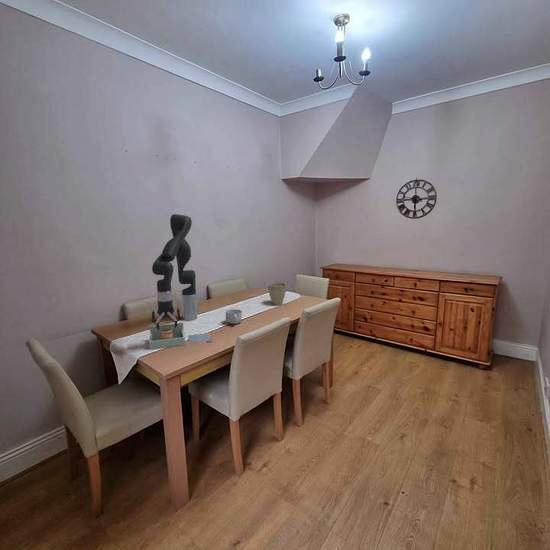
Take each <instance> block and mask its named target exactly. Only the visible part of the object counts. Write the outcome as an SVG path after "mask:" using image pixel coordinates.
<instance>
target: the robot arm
mask: <svg viewBox="0 0 550 550" xmlns="http://www.w3.org/2000/svg"><path fill="white" fill-rule="evenodd" d="M192 221H193V220H192V218H191V217H190V216H188V215H183V214H177V213H176V214H172V215H171V216H170V219H169V225H170V229H171V234H172V238H171V239H170V240H168V241H167V242H166V243H165V245H164V247H163V249H162V252H161V254H160V255H159V256H157V258H156V260H154V262H153V264H152V266H151V270H152V273H153V274H154V275H156V276H163V279H158V280H157V281H156V291H157V292H156V293H157V294H156V297H157V298H156V300H157V310H153V309H152V310H151V322H152V323H155V325H156V328H157V329H158V330H159V325H160V322H161V321H160V320H161V319H166V318H167V319H168V318H169V319H170V318H171V319H172V320H173V323H174V325H175V328H176V326H177V323H178V321H180V320H181V314H180V308H179V307H177V308H174V302H173V301H174V300H173V292H172V278H173V275H174V265H173V264H172V263H171V262H173V261H175V258H176V263H177V274H178V275H177V276H178V282H179V284H181V285H189V286H188V287H185V288H183V289H182V290H181V300H182V301H181V303H182V316H183V317H182V319H183V320H184V321H193V320H196V319H198V303H197V289H196V287H197V286H196V282H197V281H196V280H197V279H196V278H197V277H196V272H195V270H192V269H190V270H189V269H188V270H184V269H185V267H186V265H187V264H188V263H189V262H190V259H192V258H191V257H192V249H191V246H190V244H189V243H188V241H187V240H186V239H185V238H186V237H187V235H188V234H189V232H190V231H191V227H192V223H193V222H192ZM174 312H175V314H176V315H177V317H176V316H175V315H174ZM157 314H158V316H157V318H156V319H155V317H156V315H157Z"/></svg>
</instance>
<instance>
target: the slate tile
mask: <svg viewBox="0 0 550 550" xmlns="http://www.w3.org/2000/svg"><path fill="white" fill-rule="evenodd" d="M187 339H188V343H189V344H196V343H197V344H198V343H203V342H206V343H207V344H208V343H213V341H212V337H211V335H210V333H209V332H205V333H198V334H197V333H196V334H189V335H187Z"/></svg>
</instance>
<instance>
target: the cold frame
mask: <svg viewBox="0 0 550 550" xmlns="http://www.w3.org/2000/svg"><path fill="white" fill-rule="evenodd" d="M164 328H172V329H173V332H172V333H173V339H165V340H162V333H161V330H162V329H164ZM185 338H186V337H185V332H184V322H177V326H176V328H175V325H174V322H173V323H165V324H159V330H158V329H157V328H156V324H155V325H149V338H148V339H149V340H148V344H149V350H157V349H164V348H171V347H178V346H184V345H186V339H185Z"/></svg>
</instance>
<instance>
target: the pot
mask: <svg viewBox="0 0 550 550" xmlns="http://www.w3.org/2000/svg"><path fill="white" fill-rule="evenodd" d="M172 332H173V329H172V328H164V329H162V330H161V333H162V340H165V339H173V333H172Z"/></svg>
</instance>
